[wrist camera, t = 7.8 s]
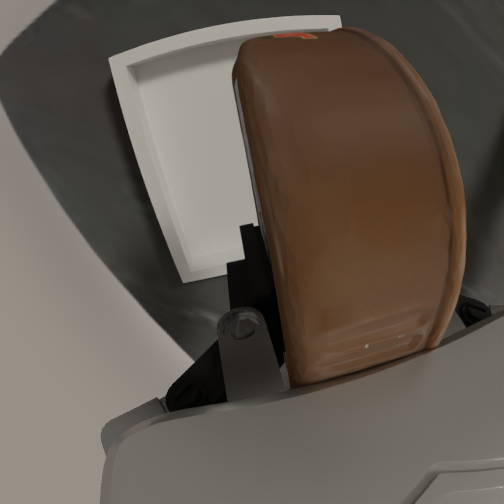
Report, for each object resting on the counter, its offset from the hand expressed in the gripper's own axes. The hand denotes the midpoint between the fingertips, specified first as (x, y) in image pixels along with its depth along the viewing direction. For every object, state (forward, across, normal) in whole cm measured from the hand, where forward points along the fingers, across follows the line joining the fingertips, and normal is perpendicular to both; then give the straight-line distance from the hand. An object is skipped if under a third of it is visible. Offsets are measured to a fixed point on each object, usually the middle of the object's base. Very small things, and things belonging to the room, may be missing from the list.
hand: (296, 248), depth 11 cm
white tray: (+17, 0, 0) cm, 17 cm away
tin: (+1, 0, 0) cm, 1 cm away
